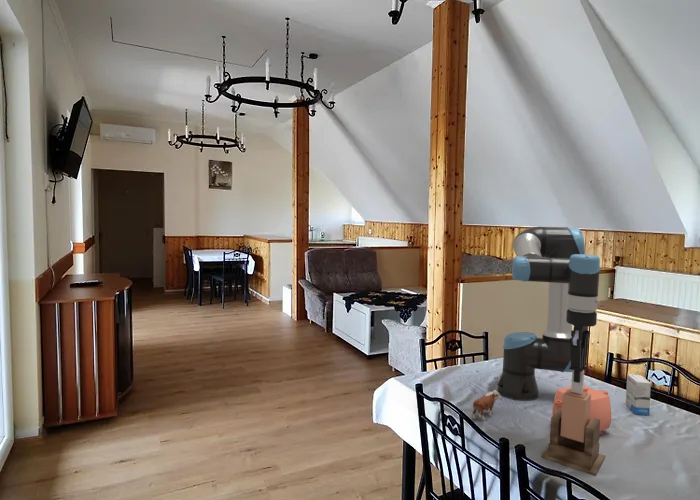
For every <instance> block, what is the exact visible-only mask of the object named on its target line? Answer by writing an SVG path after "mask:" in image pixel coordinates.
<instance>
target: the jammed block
mask: <svg viewBox="0 0 700 500" xmlns="http://www.w3.org/2000/svg"><path fill="white" fill-rule="evenodd" d="M590 404H591V394H588V393H586V392H583V393H582V394H578V393H574V392H571V389H568V390H567V391H566V392H565V393H564V394H563V398H562V416H561V435H560V436H563V437H566V438H569V439H573V440H576V441H579V442H583V443H584V441H585V431H586V426H587V425H588V423H589V421H590Z"/></svg>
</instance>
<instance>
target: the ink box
mask: <svg viewBox="0 0 700 500" xmlns="http://www.w3.org/2000/svg"><path fill="white" fill-rule="evenodd" d="M651 385H652V384H651V382H650V381H649V380H648V379H646V377H644V376H642V375H641V374H631V373H628V374H626V390H625V393H626V394H625V406H626V407H627V408H628V409H629V410H630V411H632V413H634V415H638V416H639V415H641V416H642V415H643V416H650V405H651Z"/></svg>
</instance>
